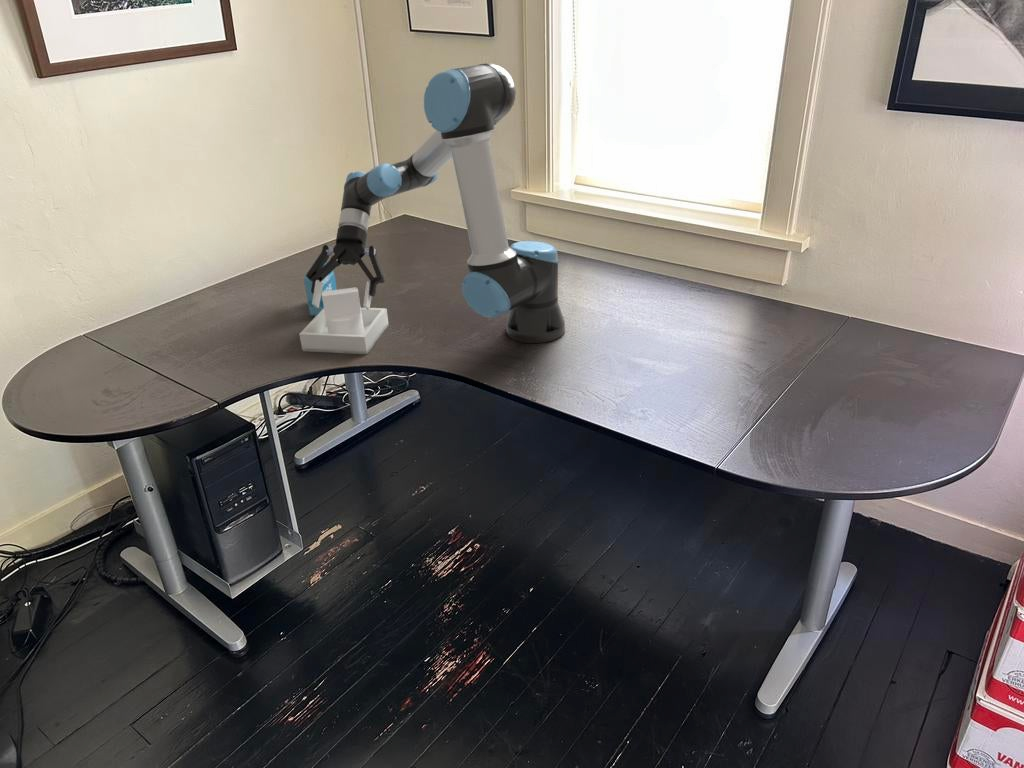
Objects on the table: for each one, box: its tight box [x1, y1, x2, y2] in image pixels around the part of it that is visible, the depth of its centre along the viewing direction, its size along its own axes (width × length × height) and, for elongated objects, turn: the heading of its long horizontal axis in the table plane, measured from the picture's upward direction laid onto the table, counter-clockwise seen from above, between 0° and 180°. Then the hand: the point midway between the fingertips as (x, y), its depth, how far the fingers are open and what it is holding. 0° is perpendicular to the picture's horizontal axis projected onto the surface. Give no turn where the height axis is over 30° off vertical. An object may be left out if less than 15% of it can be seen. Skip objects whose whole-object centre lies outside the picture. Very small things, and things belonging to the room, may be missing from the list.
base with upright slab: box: [322, 286, 364, 335], centre depth 189 cm, size 9×9×12 cm
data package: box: [303, 262, 338, 317], centre depth 206 cm, size 12×4×12 cm, turn 175°
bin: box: [298, 307, 390, 356], centre depth 191 cm, size 17×17×5 cm
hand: (340, 307), depth 188 cm, fingers open, 13 cm apart
